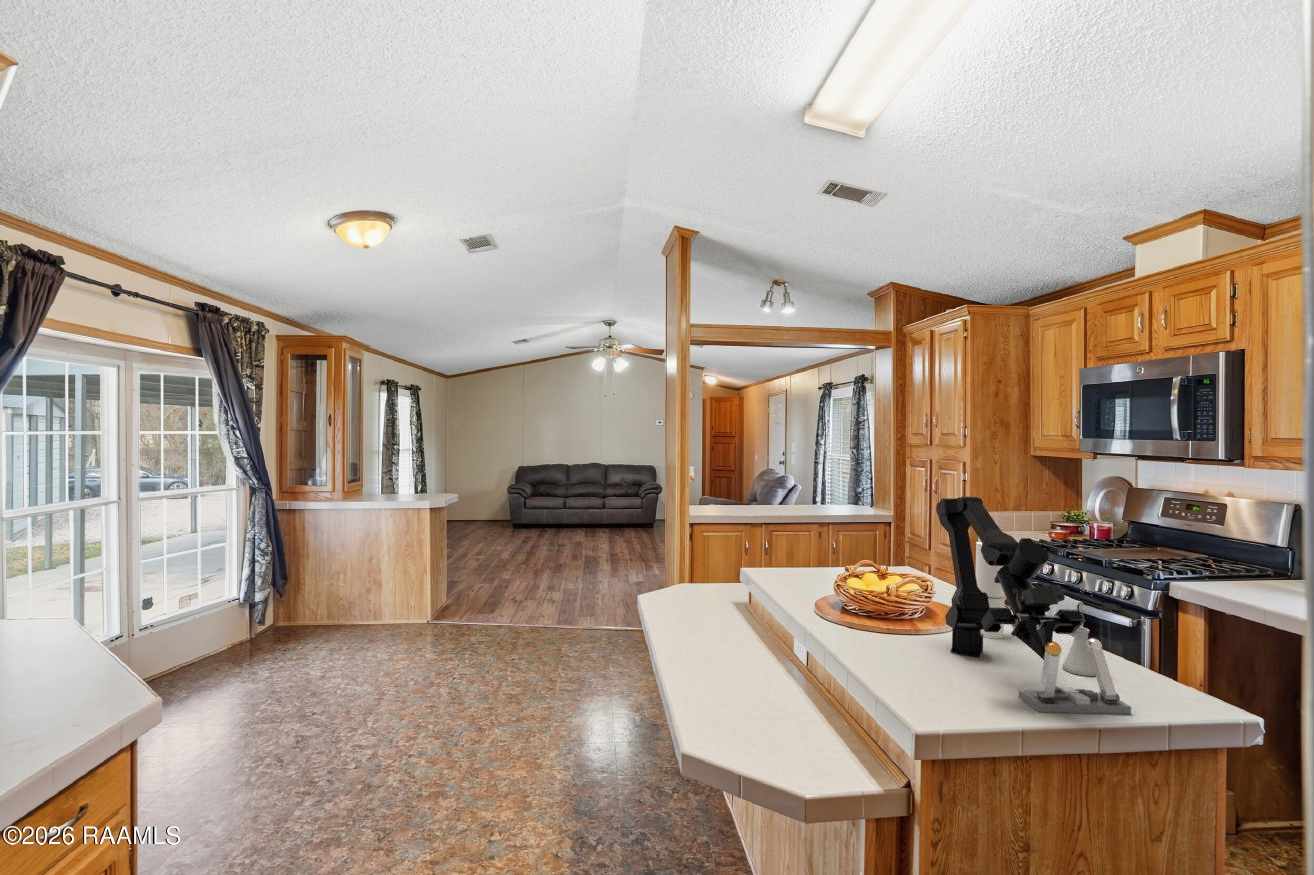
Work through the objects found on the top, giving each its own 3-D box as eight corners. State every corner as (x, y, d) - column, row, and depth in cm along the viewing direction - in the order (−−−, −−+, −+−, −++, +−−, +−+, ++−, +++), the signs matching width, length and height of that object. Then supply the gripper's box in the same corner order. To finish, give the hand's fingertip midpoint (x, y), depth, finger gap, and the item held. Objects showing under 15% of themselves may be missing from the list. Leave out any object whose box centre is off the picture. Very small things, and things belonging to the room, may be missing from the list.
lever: (1099, 702, 128) (1080, 639, 134) (1113, 702, 128) (1094, 640, 134) (1108, 700, 125) (1088, 636, 132) (1122, 700, 125) (1102, 637, 132)
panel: (1018, 697, 132) (1018, 683, 132) (1106, 699, 132) (1106, 685, 132) (1038, 711, 125) (1038, 697, 125) (1130, 714, 125) (1131, 699, 125)
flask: (1105, 678, 144) (1106, 634, 144) (1069, 675, 146) (1070, 631, 146) (1090, 667, 151) (1091, 625, 151) (1056, 664, 153) (1057, 622, 153)
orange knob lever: (1034, 694, 129) (1042, 638, 127) (1048, 695, 129) (1056, 638, 127) (1043, 702, 126) (1051, 645, 124) (1057, 703, 126) (1065, 646, 124)
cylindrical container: (1004, 633, 177) (1006, 543, 177) (1002, 640, 171) (1004, 546, 171) (975, 629, 181) (977, 540, 181) (972, 635, 175) (974, 543, 175)
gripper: (989, 568, 132) (1018, 638, 121) (1080, 570, 132) (1117, 641, 121) (970, 597, 140) (995, 665, 129) (1055, 599, 140) (1088, 667, 129)
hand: (1048, 659), depth 127 cm, fingers closed, pressing on orange knob lever
